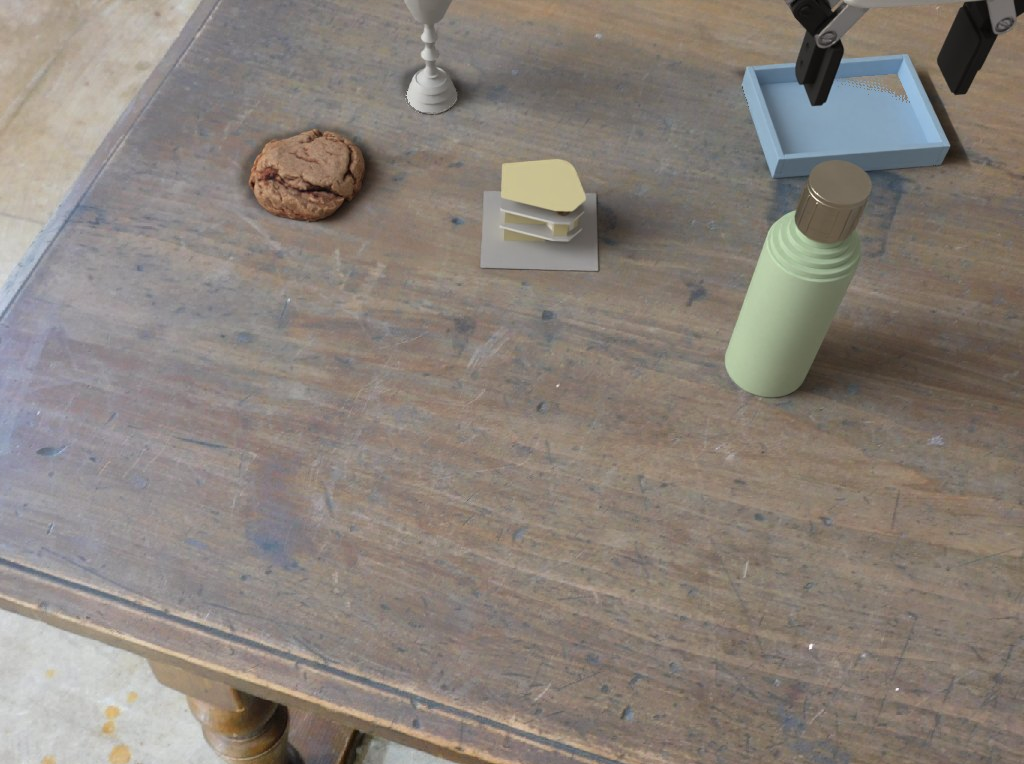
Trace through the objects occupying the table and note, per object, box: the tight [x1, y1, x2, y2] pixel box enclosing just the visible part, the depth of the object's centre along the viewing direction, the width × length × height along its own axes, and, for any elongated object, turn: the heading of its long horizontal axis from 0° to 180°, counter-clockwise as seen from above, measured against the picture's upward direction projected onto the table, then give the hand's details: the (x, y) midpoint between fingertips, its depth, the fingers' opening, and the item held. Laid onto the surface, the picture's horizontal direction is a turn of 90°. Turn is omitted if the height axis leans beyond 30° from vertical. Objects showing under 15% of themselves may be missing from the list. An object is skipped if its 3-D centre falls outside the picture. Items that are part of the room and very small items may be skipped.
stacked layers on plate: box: [479, 158, 599, 272], centre depth 91 cm, size 10×9×6 cm
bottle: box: [724, 209, 863, 398], centre depth 77 cm, size 6×6×20 cm
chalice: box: [403, 0, 458, 113], centre depth 95 cm, size 7×7×18 cm
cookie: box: [248, 128, 366, 222], centre depth 96 cm, size 10×11×3 cm
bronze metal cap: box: [794, 160, 873, 243], centre depth 70 cm, size 4×4×4 cm
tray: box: [741, 53, 951, 179], centre depth 98 cm, size 15×12×2 cm
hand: (881, 82), depth 62 cm, fingers open, 7 cm apart
